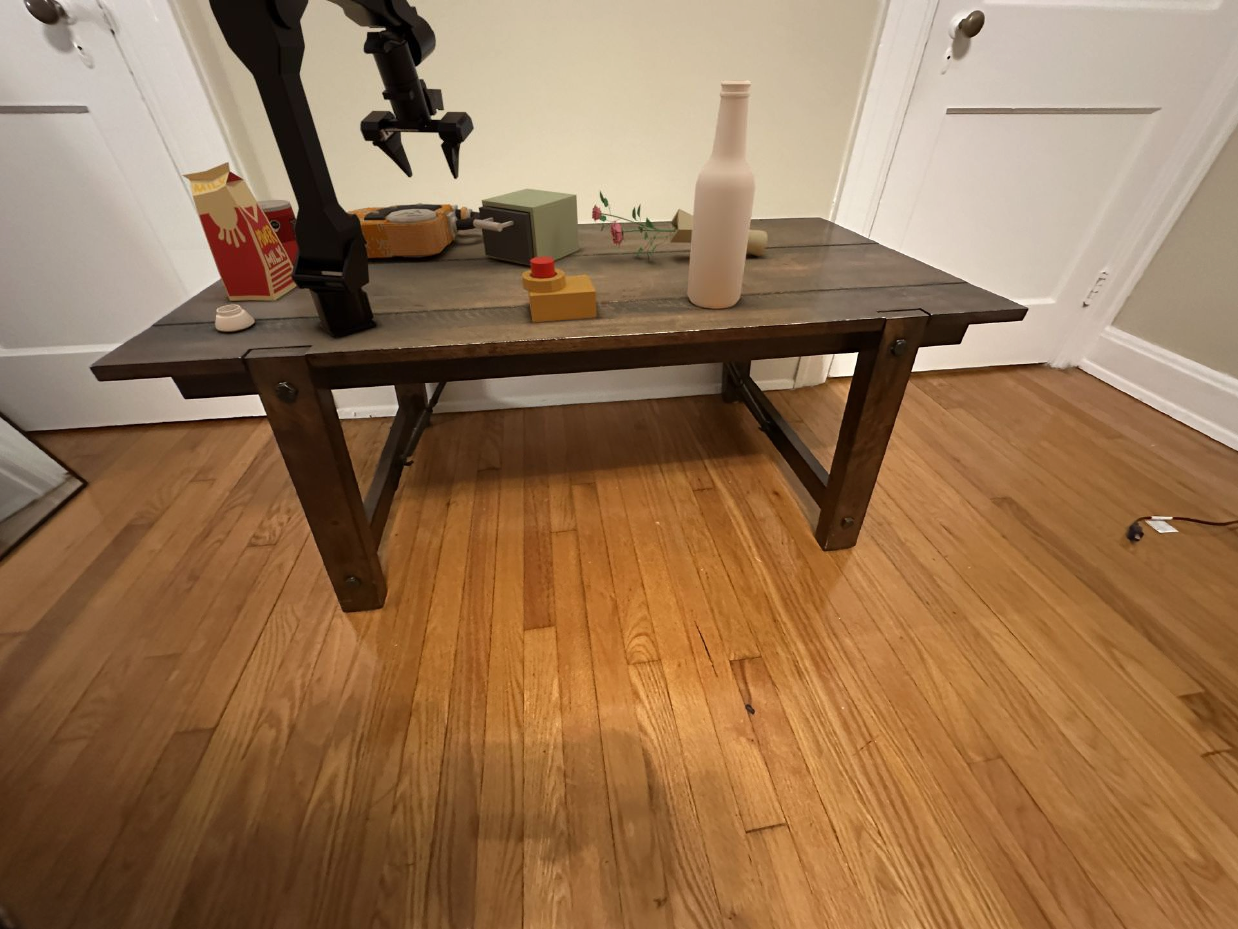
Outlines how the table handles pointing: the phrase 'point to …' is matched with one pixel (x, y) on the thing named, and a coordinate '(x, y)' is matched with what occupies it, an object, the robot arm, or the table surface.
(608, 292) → the table surface
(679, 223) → the flower vase
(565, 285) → the control block
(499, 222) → the dark grey drawer
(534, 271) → the button
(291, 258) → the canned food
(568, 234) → the drawer cabinet
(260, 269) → the milk carton
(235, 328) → the lidless jar
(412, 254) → the device
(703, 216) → the alcohol
